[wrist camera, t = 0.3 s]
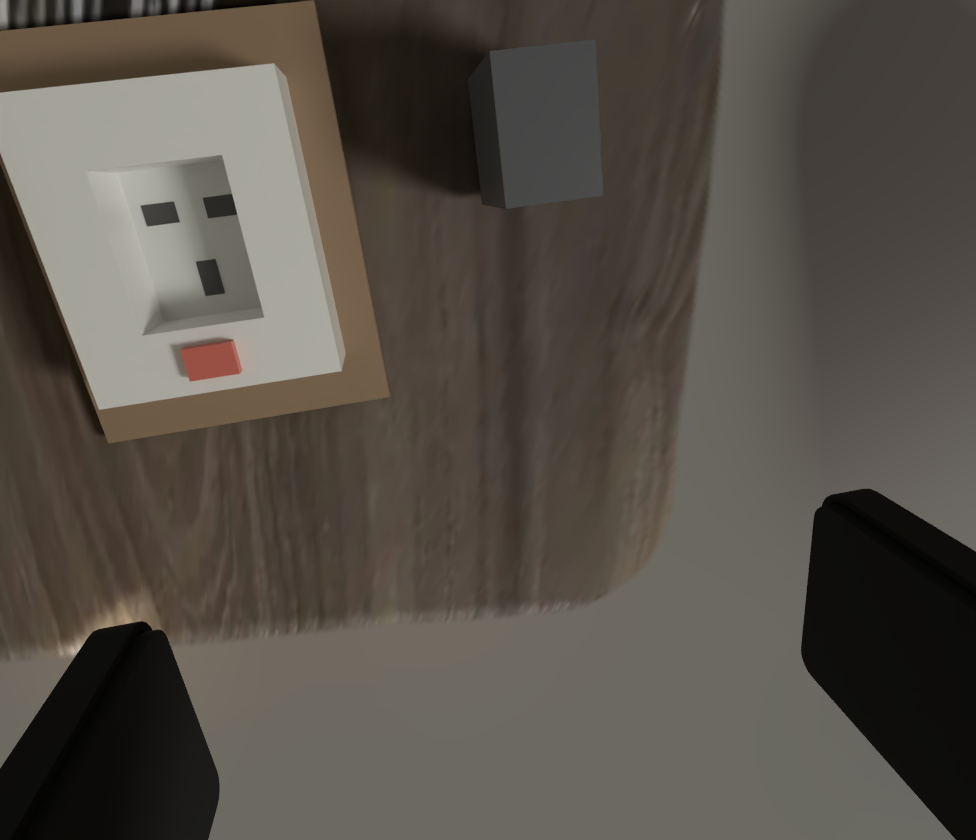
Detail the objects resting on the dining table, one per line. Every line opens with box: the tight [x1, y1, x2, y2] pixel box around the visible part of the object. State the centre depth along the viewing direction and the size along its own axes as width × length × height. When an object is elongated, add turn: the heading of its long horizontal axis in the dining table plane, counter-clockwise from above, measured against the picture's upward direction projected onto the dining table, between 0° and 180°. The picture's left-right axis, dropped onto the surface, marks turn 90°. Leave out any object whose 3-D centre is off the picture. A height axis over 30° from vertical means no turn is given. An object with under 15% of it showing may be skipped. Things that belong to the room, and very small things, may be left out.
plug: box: [467, 39, 603, 209], centre depth 29 cm, size 6×4×8 cm
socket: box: [0, 0, 390, 443], centre depth 30 cm, size 20×16×5 cm
